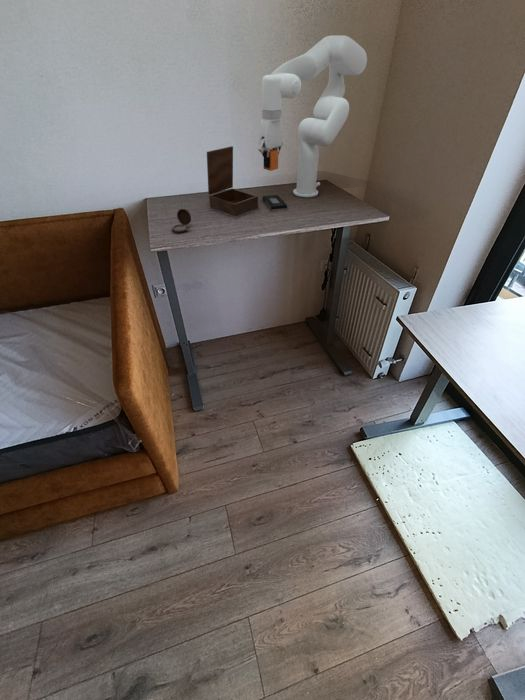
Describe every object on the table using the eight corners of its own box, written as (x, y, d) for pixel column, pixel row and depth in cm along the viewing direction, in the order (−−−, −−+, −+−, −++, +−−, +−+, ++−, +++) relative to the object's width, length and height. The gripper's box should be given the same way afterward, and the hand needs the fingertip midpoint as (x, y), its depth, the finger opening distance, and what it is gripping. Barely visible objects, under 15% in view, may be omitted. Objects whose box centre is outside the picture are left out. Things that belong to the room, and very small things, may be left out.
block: (270, 166, 148) (270, 148, 143) (278, 168, 146) (278, 150, 141) (263, 168, 146) (263, 150, 141) (271, 170, 143) (271, 152, 139)
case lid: (233, 146, 144) (224, 143, 146) (207, 152, 136) (199, 148, 138) (232, 187, 156) (225, 184, 158) (209, 194, 148) (201, 191, 150)
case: (258, 209, 152) (257, 196, 148) (235, 218, 144) (234, 204, 141) (233, 200, 160) (232, 188, 157) (210, 208, 152) (209, 195, 149)
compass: (169, 232, 133) (165, 213, 128) (180, 224, 139) (177, 206, 134) (186, 235, 131) (183, 216, 126) (197, 228, 136) (194, 209, 131)
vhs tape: (271, 211, 151) (271, 206, 149) (262, 200, 161) (262, 196, 160) (286, 209, 152) (287, 205, 151) (277, 199, 162) (277, 194, 161)
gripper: (278, 111, 139) (276, 160, 151) (250, 116, 130) (251, 168, 142) (292, 113, 135) (289, 163, 148) (264, 118, 126) (264, 171, 139)
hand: (270, 165), depth 145 cm, fingers closed on block, 4 cm apart
